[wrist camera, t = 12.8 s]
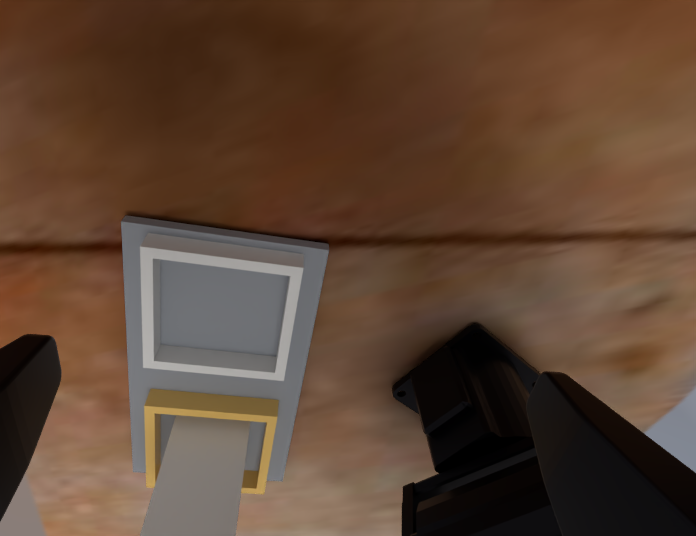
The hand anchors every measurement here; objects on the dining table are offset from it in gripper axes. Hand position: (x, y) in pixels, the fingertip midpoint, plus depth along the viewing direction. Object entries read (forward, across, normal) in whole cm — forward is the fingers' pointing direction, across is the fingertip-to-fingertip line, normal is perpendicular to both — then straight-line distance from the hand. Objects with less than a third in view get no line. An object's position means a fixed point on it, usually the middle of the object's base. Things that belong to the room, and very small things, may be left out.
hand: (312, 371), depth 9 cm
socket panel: (+13, +3, +13) cm, 19 cm away
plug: (+12, +4, +18) cm, 22 cm away
